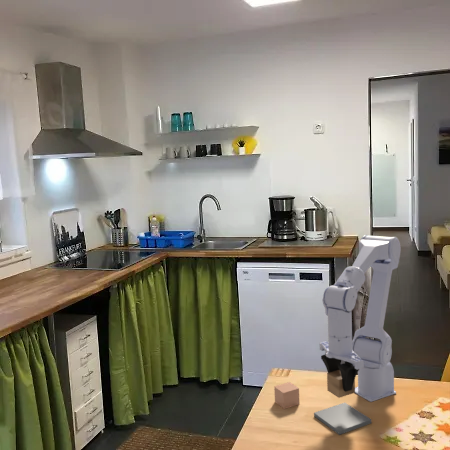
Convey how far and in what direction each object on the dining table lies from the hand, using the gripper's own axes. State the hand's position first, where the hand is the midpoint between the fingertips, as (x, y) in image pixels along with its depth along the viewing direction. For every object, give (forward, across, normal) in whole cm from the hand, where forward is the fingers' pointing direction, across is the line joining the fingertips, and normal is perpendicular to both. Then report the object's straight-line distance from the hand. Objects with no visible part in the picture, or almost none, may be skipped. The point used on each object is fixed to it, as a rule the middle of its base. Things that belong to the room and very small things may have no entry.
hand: (341, 386), depth 124 cm
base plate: (+9, 0, 0) cm, 9 cm away
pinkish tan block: (+9, -14, -7) cm, 18 cm away
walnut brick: (+1, 0, 0) cm, 1 cm away
